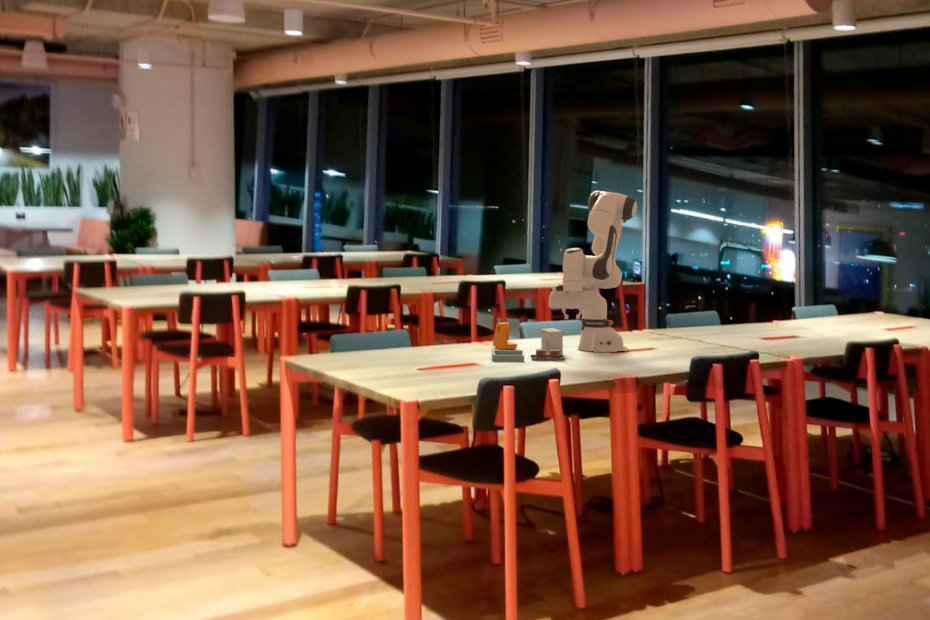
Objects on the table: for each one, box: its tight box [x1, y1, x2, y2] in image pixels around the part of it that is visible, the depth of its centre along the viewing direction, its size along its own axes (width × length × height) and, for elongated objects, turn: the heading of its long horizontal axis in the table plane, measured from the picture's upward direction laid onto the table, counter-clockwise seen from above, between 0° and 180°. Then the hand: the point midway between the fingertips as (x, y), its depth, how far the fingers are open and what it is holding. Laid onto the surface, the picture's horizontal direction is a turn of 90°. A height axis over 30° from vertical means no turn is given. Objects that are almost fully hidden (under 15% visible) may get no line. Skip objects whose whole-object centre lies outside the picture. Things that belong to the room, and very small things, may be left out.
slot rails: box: [530, 354, 566, 362], centre depth 435 cm, size 14×8×1 cm, turn 90°
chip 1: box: [535, 348, 547, 357], centre depth 435 cm, size 4×4×4 cm
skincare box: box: [540, 327, 564, 355], centre depth 452 cm, size 10×6×10 cm, turn 18°
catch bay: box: [491, 349, 525, 362], centre depth 435 cm, size 13×14×2 cm
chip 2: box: [550, 349, 560, 357], centre depth 435 cm, size 4×4×4 cm
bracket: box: [492, 321, 518, 350], centre depth 463 cm, size 11×7×12 cm, turn 24°
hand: (572, 319), depth 433 cm, fingers open, 3 cm apart
